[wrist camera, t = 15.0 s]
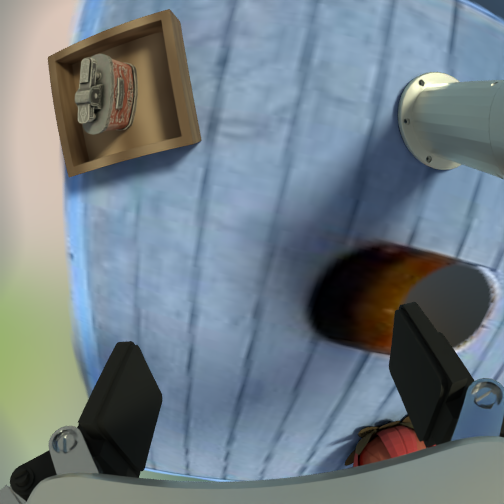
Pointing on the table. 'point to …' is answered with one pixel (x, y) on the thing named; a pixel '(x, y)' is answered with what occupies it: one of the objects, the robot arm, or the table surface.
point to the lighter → (106, 94)
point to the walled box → (149, 94)
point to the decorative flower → (385, 443)
